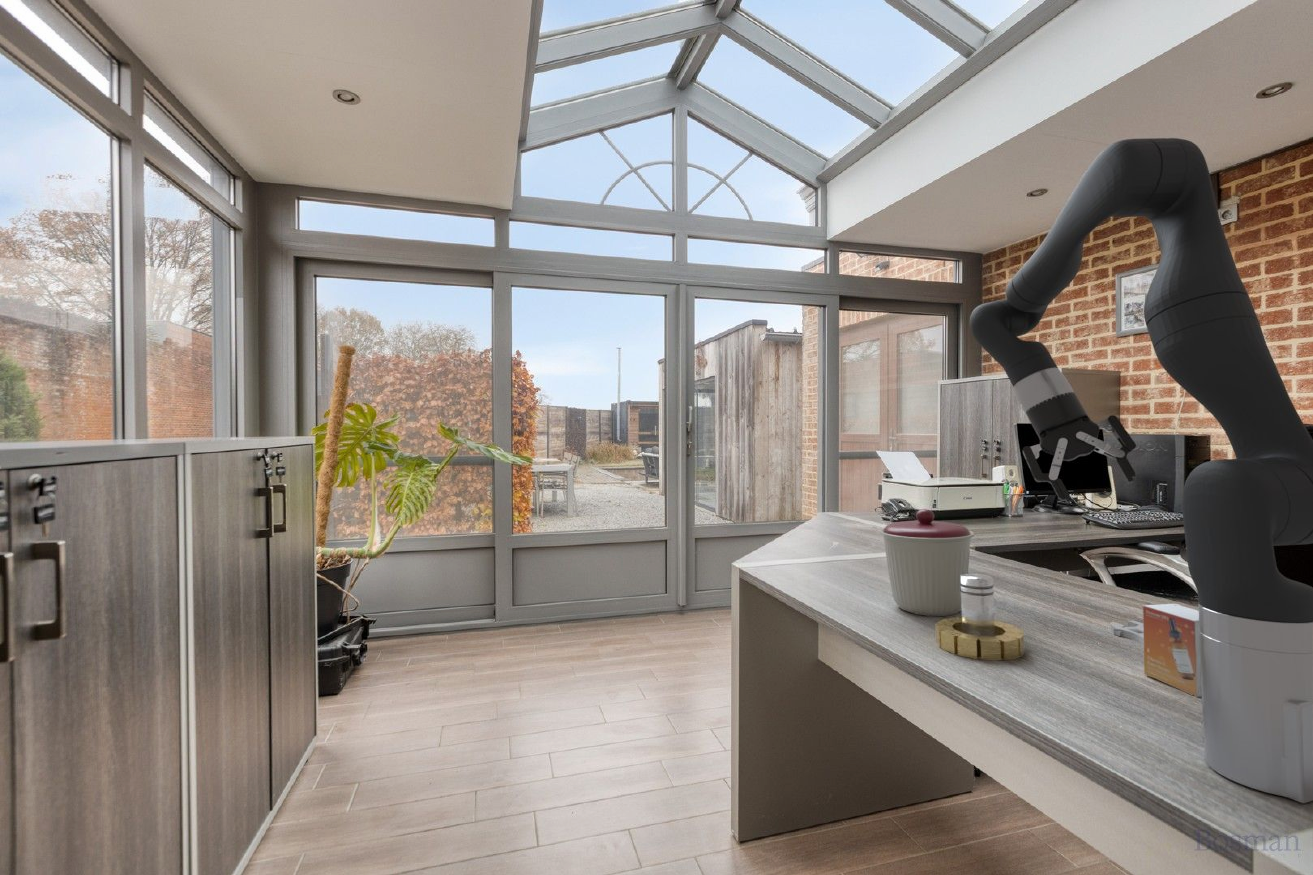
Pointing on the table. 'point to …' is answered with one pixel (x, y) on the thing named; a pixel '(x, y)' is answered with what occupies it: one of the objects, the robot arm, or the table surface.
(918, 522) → the canister
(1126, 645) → the table surface
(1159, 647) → the small box
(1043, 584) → the table surface
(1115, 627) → the adjustable wrench
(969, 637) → the ring
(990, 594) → the spice jar
